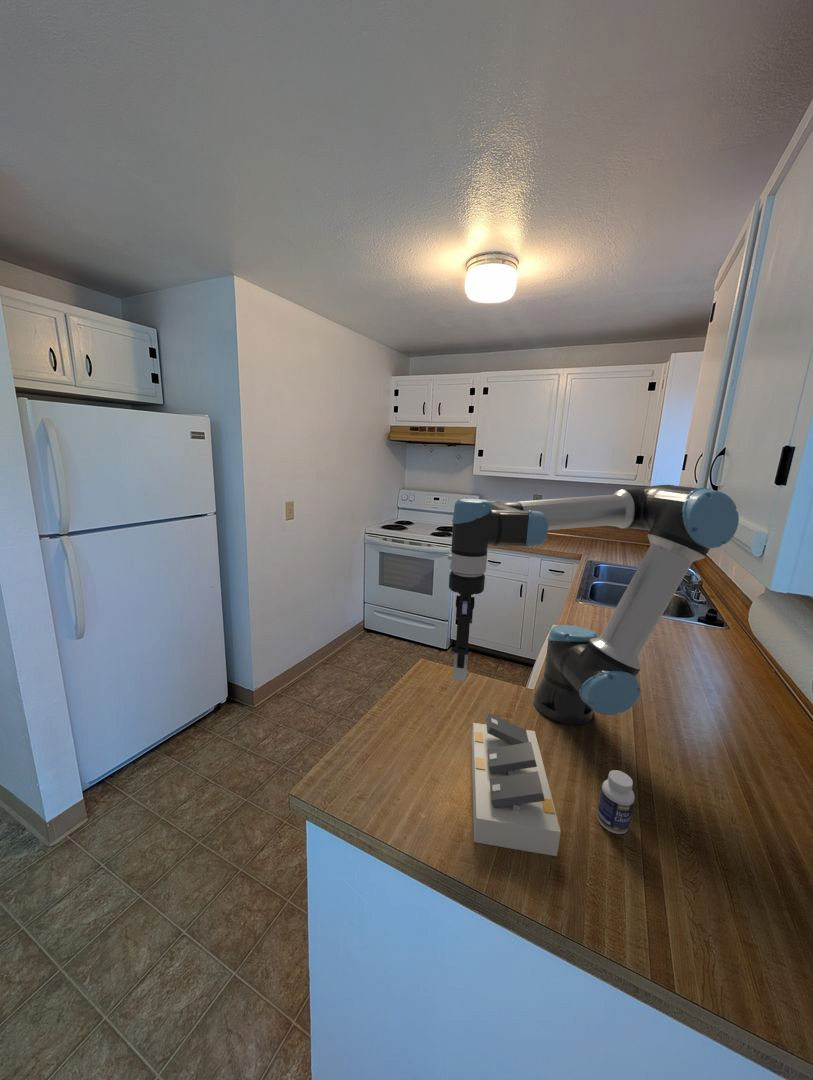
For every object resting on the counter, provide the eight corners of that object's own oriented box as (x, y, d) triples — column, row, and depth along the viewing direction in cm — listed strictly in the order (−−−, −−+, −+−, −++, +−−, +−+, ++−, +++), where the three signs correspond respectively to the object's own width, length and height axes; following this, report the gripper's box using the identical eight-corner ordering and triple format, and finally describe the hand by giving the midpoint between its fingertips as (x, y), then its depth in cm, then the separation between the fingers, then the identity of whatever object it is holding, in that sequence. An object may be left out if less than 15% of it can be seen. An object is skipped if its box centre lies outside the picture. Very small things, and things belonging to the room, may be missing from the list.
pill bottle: (614, 839, 73) (623, 793, 71) (590, 815, 78) (597, 771, 76) (635, 829, 75) (644, 784, 73) (610, 806, 80) (618, 763, 78)
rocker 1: (522, 735, 91) (526, 729, 91) (526, 751, 87) (529, 744, 86) (485, 718, 92) (489, 712, 91) (487, 732, 87) (490, 726, 87)
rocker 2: (532, 748, 83) (530, 741, 83) (536, 766, 78) (534, 758, 78) (489, 755, 85) (487, 748, 84) (490, 773, 80) (488, 766, 80)
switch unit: (532, 750, 95) (535, 726, 93) (556, 856, 69) (561, 826, 68) (471, 741, 96) (473, 718, 95) (473, 842, 71) (477, 812, 70)
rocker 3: (539, 778, 75) (537, 770, 75) (545, 800, 70) (542, 792, 70) (491, 785, 77) (489, 777, 77) (493, 807, 72) (491, 799, 72)
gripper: (453, 556, 99) (447, 637, 103) (445, 588, 75) (438, 692, 79) (484, 559, 98) (477, 641, 102) (486, 592, 74) (477, 697, 78)
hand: (460, 663), depth 91 cm, fingers open, 13 cm apart
